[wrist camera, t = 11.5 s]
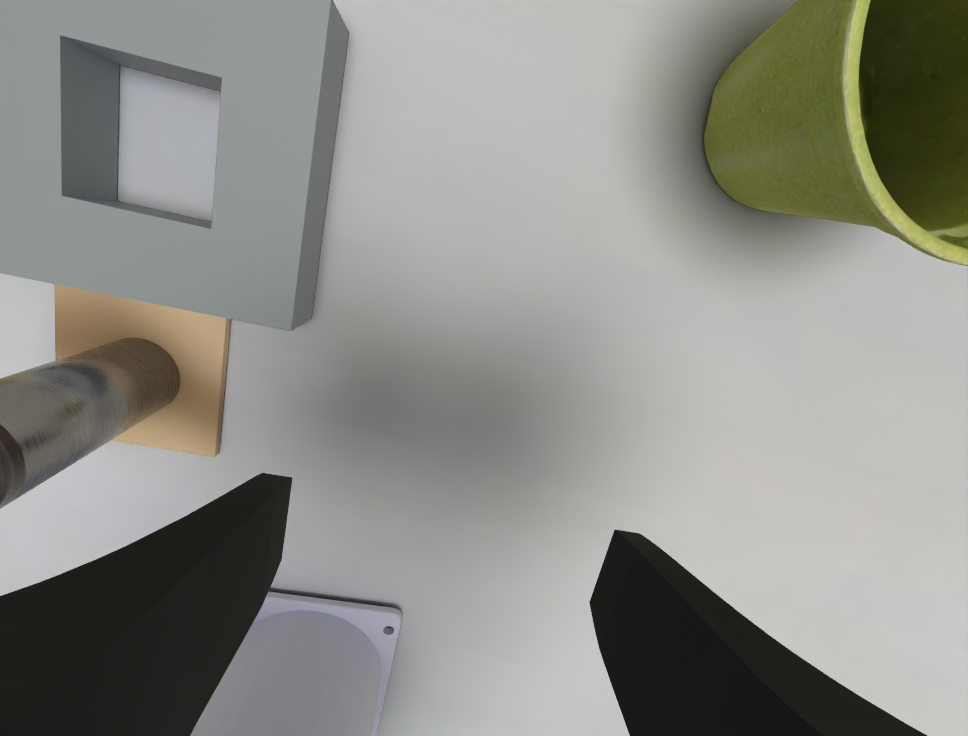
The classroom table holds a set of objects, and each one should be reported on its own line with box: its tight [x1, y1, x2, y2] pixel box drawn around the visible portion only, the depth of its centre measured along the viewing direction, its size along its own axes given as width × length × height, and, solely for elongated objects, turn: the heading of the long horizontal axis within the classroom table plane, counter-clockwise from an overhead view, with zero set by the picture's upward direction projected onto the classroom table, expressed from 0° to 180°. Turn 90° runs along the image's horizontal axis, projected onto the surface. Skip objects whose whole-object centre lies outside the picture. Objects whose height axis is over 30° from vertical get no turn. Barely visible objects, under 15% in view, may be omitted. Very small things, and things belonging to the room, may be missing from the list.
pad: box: [55, 284, 231, 457], centre depth 18 cm, size 6×6×1 cm
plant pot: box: [704, 0, 968, 266], centre depth 14 cm, size 9×9×9 cm
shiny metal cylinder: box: [0, 338, 181, 508], centre depth 14 cm, size 3×3×8 cm
